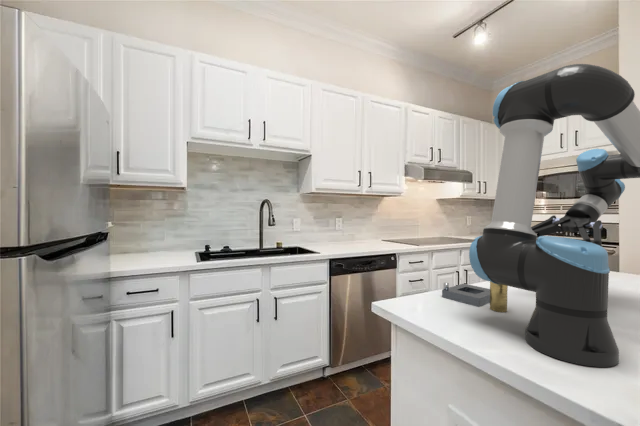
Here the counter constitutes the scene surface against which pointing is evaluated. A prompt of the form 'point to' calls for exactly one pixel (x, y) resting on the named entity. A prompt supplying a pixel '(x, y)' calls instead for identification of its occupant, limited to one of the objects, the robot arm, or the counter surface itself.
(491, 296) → the bushing
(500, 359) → the counter surface
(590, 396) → the counter surface
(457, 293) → the jig
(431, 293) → the counter surface
